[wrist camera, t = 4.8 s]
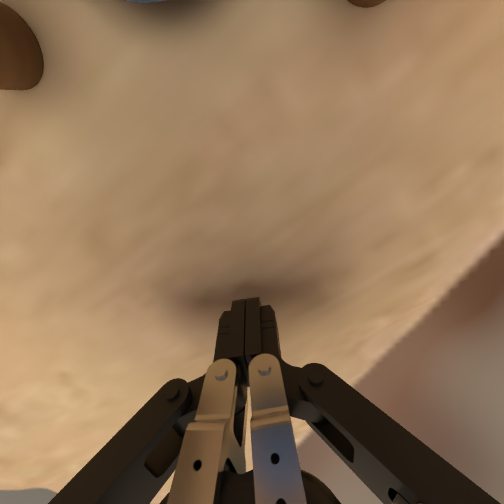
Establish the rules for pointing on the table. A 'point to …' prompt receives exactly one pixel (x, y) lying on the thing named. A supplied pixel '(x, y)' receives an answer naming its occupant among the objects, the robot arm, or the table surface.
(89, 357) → the table surface
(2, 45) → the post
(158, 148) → the table surface
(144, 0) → the ball
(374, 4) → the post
